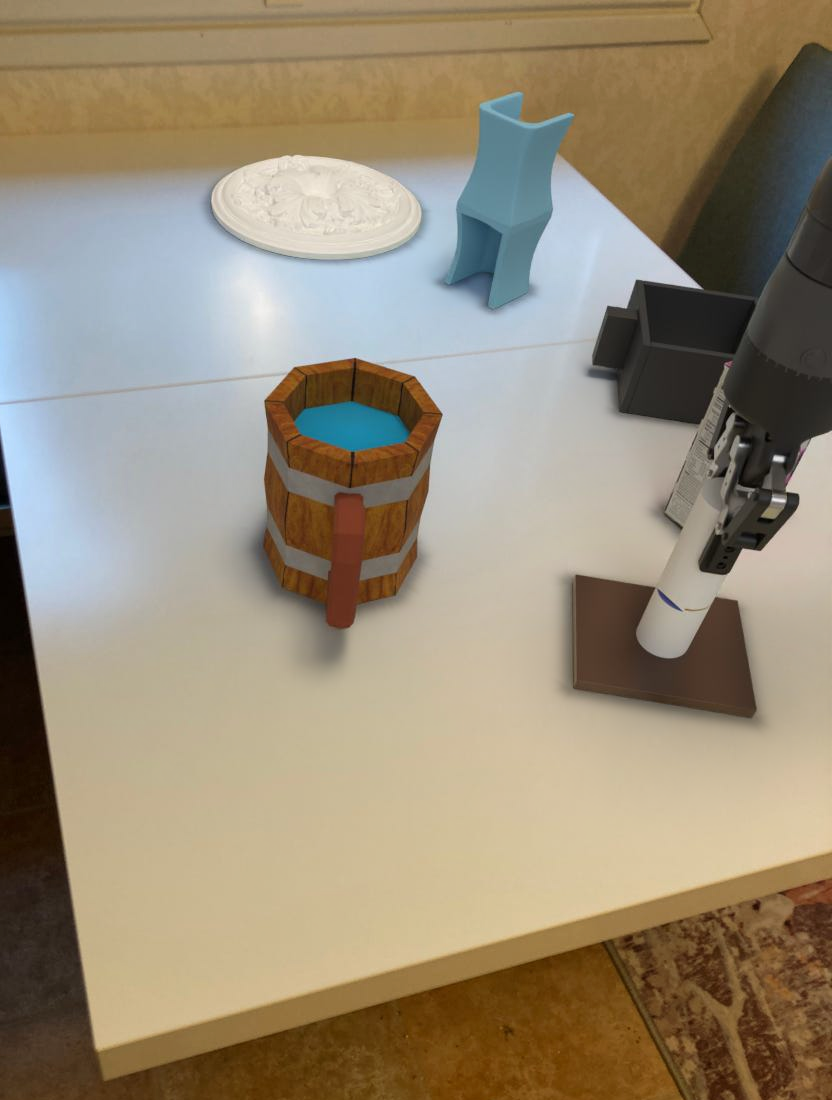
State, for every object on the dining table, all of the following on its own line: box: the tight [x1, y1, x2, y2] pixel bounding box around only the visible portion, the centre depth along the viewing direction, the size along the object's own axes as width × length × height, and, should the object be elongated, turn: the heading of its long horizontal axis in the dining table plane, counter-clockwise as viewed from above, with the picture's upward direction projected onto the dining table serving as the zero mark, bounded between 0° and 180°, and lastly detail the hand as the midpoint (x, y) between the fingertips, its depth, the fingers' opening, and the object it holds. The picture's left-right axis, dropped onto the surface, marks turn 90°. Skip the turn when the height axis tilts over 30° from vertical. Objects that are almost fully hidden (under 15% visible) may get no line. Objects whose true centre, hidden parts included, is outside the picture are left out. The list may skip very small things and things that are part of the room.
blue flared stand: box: [444, 91, 576, 310], centre depth 107 cm, size 8×8×20 cm
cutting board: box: [572, 574, 758, 718], centre depth 76 cm, size 14×12×1 cm
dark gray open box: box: [591, 278, 760, 425], centre depth 100 cm, size 17×14×8 cm
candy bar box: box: [663, 361, 813, 530], centre depth 83 cm, size 11×5×16 cm, turn 122°
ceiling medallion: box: [210, 154, 422, 261], centre depth 123 cm, size 28×28×3 cm
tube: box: [636, 477, 755, 658], centre depth 70 cm, size 4×4×15 cm
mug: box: [262, 357, 444, 630], centre depth 73 cm, size 20×14×15 cm
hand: (708, 546), depth 68 cm, fingers closed on tube, 4 cm apart
